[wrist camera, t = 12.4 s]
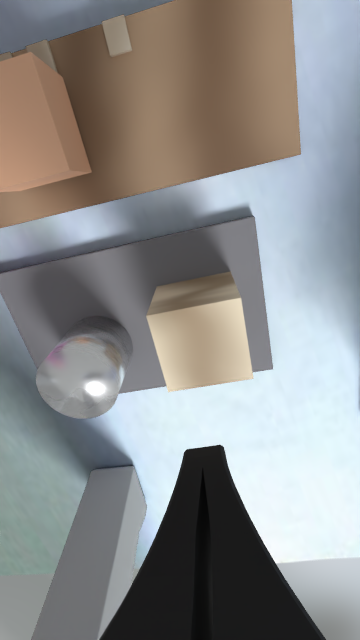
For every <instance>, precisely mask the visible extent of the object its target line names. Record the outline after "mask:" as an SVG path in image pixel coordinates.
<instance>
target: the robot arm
mask: <svg viewBox="0 0 360 640" xmlns="http://www.w3.org/2000/svg"><path fill="white" fill-rule="evenodd" d="M99 640H326V639H325V637H324V636H323V635H322V633H321V632H320V630H319V629H318V628H317V626H316V625H315V623H314V622H313V621H312V619H311V617H310V616H309V614H308V613H307V612H306V610H305V608H304V607H303V606H302V604H301V602H300V601H299V599H298V598H297V596H296V595H295V593H294V592H293V590H292V589H291V587H290V586H289V584H288V583H287V581H286V580H285V578H284V576H283V575H282V573H281V572H280V570H279V568H278V567H277V565H276V563H275V562H274V560H273V558H272V557H271V555H270V553H269V552H268V550H267V548H266V546H265V545H264V543H263V541H262V539H261V537H260V536H259V534H258V532H257V530H256V528H255V526H254V524H253V522H252V521H251V519H250V517H249V515H248V513H247V511H246V509H245V506H244V504H243V502H242V500H241V498H240V496H239V493H238V491H237V489H236V487H235V484H234V482H233V479H232V476H231V474H230V471H229V468H228V464H227V460H226V455H225V451H224V447H223V446H221V445H216V446H209V447H202V448H194V449H187V450H186V451H185V452H184V456H183V460H182V464H181V468H180V472H179V475H178V478H177V481H176V485H175V488H174V490H173V493H172V496H171V499H170V502H169V505H168V507H167V510H166V513H165V515H164V517H163V520H162V522H161V525H160V527H159V529H158V532H157V534H156V537H155V539H154V541H153V543H152V545H151V548H150V550H149V552H148V554H147V556H146V558H145V560H144V562H143V564H142V566H141V568H140V570H139V572H138V574H137V576H136V578H135V579H134V581H133V583H132V585H131V587H130V589H129V591H128V592H127V594H126V596H125V598H124V600H123V601H122V603H121V605H120V607H119V608H118V610H117V612H116V613H115V615H114V617H113V618H112V620H111V621H110V623H109V625H108V626H107V628H106V629H105V631H104V633H103V634H102V636H101V637H100V639H99Z"/></svg>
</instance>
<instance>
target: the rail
mask: <svg viewBox="0 0 360 640" xmlns="http://www.w3.org/2000/svg"><path fill="white" fill-rule="evenodd" d="M28 52H32V53H33V54H34V55H35V56H37V57H38V58H39V59H40V60H42V61H43V62H44V63H45V64H47V65H48V66H49V67H51V68H52V69H53V70H54V71H56V72H57V73H58V74H59V75H61V76H62V77H63V80H64V83H65V86H66V90H67V93H68V96H69V99H70V103H71V106H72V109H73V112H74V116H75V119H76V122H77V125H78V129H79V132H80V135H81V139H82V142H83V145H84V148H85V152H86V155H87V158H88V161H89V165H90V168H91V171H92V172H91V173H87V174H83V175H80V176H76V177H72V178H68V179H64V180H60V181H57V182H53V183H49V184H45V185H41V186H37V187H34V188H30V189H26V190H22V191H12V192H0V228H3V227H7V226H11V225H15V224H19V223H23V222H27V221H32V220H36V219H40V218H44V217H48V216H52V215H56V214H60V213H64V212H68V211H72V210H76V209H80V208H84V207H89V206H93V205H97V204H101V203H105V202H109V201H113V200H117V199H121V198H125V197H129V196H133V195H137V194H142V193H146V192H150V191H154V190H158V189H162V188H166V187H170V186H174V185H178V184H182V183H186V182H190V181H194V180H199V179H203V178H207V177H211V176H215V175H219V174H223V173H227V172H231V171H235V170H239V169H243V168H247V167H251V166H256V165H260V164H264V163H268V162H272V161H276V160H280V159H284V158H288V157H292V156H296V155H300V154H301V148H300V132H299V115H298V98H297V81H296V64H295V48H294V31H293V14H292V0H174V1H171V2H168V3H165V4H162V5H159V6H156V7H152V8H149V9H146V10H143V11H140V12H137V13H134V14H131V15H128V16H124V14H123V15H120V16H117V17H114V18H111V19H108V20H105V21H102V24H100V25H97V26H94V27H91V28H88V29H85V30H82V31H79V32H76V33H72V34H69V35H66V36H63V37H60V38H57V39H54V40H51V41H47V40H43V41H40V42H37V43H34V44H31V45H28V46H26V49H23V50H20V51H17V52H14V53H11V52H6V53H3V54H0V62H1V61H4V60H7V59H10V58H13V57H16V56H19V55H22V54H25V53H28Z"/></svg>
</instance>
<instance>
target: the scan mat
mask: <svg viewBox="0 0 360 640" xmlns="http://www.w3.org/2000/svg"><path fill="white" fill-rule="evenodd" d="M230 271H231V274H232V276H233V279H234V281H235V284H236V286H237V289H238V291H239V294H240V296H241V301H242V307H243V314H244V320H245V327H246V333H247V340H248V346H249V353H250V359H251V366H252V372H258V371H264V370H270V369H273V364H272V356H271V347H270V339H269V331H268V323H267V314H266V306H265V298H264V290H263V281H262V273H261V265H260V257H259V248H258V240H257V232H256V224H255V217H254V216H250V217H245V218H241V219H236V220H232V221H227V222H223V223H219V224H214V225H210V226H205V227H201V228H196V229H192V230H187V231H183V232H179V233H174V234H170V235H165V236H161V237H156V238H152V239H147V240H143V241H138V242H134V243H130V244H125V245H121V246H116V247H112V248H107V249H103V250H98V251H94V252H90V253H85V254H81V255H76V256H72V257H67V258H63V259H58V260H54V261H50V262H45V263H41V264H36V265H32V266H27V267H23V268H18V269H14V270H10V271H5V272H1V273H0V293H1V295H2V297H3V299H4V301H5V303H6V305H7V307H8V309H9V311H10V313H11V315H12V318H13V320H14V322H15V324H16V326H17V328H18V330H19V332H20V334H21V336H22V338H23V340H24V343H25V345H26V347H27V349H28V351H29V353H30V355H31V357H32V359H33V361H34V363H35V365H36V367H37V370H38V368H39V366H40V364H41V363H42V362H43V361H44V359H45V358H46V357H47V356H48V355H49V354H50V352H51V351H52V350H53V349H54V348H55V346H56V345H57V344H58V343H59V342H60V341H61V339H62V338H63V337H64V336H65V335H66V333H67V332H68V331H69V330H70V329H71V328H72V326H73V325H74V324H75V323H76V322H78V321H79V320H81V319H83V318H85V317H89V316H103V317H107V318H110V319H113V320H115V321H116V322H118V323H119V324H121V325H122V326H123V327H124V328H125V329H126V331H127V332H128V333H129V335H130V337H131V340H132V343H133V354H132V357H131V360H130V363H129V365H128V368H127V371H126V374H125V376H124V379H123V382H122V385H121V387H120V390H119V393H118V394H120V393H126V392H133V391H139V390H145V389H151V388H158V387H164V386H166V382H165V379H164V375H163V372H162V368H161V365H160V362H159V358H158V355H157V351H156V348H155V344H154V341H153V337H152V334H151V331H150V327H149V324H148V320H147V317H146V315H147V312H148V310H149V307H150V304H151V301H152V298H153V296H154V293H155V290H156V287H157V286H162V285H167V284H171V283H176V282H181V281H186V280H191V279H196V278H201V277H206V276H211V275H216V274H221V273H225V272H230Z"/></svg>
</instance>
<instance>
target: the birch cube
mask: <svg viewBox="0 0 360 640" xmlns="http://www.w3.org/2000/svg"><path fill="white" fill-rule="evenodd" d="M146 317H147V320H148V324H149V327H150V331H151V334H152V337H153V341H154V344H155V348H156V351H157V355H158V358H159V362H160V365H161V368H162V372H163V375H164V379H165V382H166V386H167V389H168V392H171V391H178V390H184V389H190V388H197V387H203V386H210V385H216V384H222V383H229V382H235V381H241V380H248V379H253V372H252V366H251V359H250V353H249V346H248V340H247V333H246V327H245V320H244V314H243V307H242V301H241V296H240V294H239V291H238V289H237V286H236V284H235V281H234V279H233V276H232V274H231V271H230V272H225V273H221V274H216V275H211V276H206V277H201V278H196V279H191V280H186V281H181V282H176V283H171V284H167V285H162V286H157V287H156V290H155V293H154V296H153V298H152V301H151V304H150V307H149V310H148V312H147V315H146Z"/></svg>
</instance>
